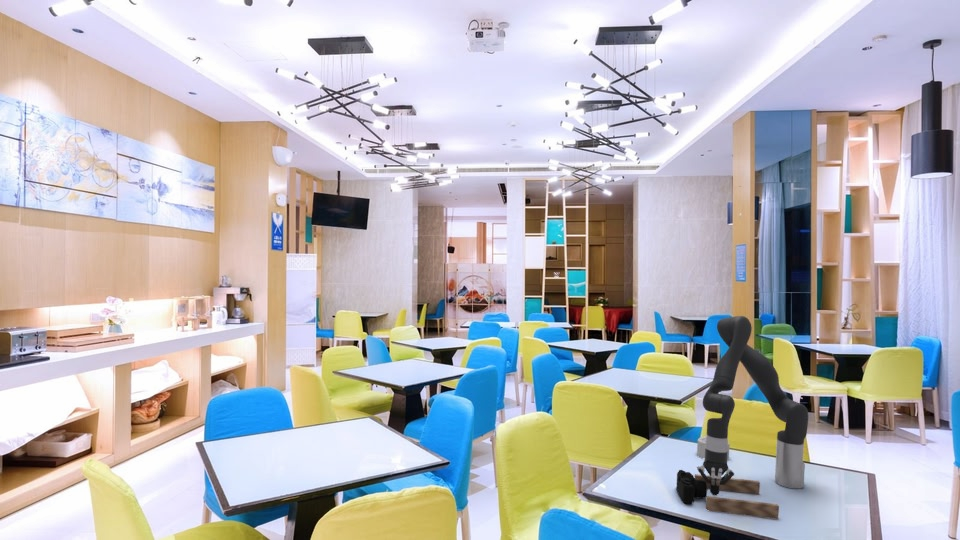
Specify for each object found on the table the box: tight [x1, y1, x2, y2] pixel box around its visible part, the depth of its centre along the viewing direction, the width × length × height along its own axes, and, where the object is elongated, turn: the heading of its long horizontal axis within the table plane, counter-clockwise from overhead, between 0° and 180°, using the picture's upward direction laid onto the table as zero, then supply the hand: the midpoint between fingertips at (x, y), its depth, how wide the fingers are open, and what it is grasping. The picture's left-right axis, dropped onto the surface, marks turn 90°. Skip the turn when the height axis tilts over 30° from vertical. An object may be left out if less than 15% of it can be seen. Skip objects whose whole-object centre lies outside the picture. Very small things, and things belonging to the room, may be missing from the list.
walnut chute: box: [694, 473, 780, 520], centre depth 192 cm, size 23×21×4 cm
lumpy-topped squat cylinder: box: [696, 434, 731, 461], centre depth 237 cm, size 10×13×9 cm
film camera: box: [675, 469, 708, 506], centre depth 194 cm, size 15×10×9 cm, turn 169°
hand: (714, 494), depth 193 cm, fingers closed
